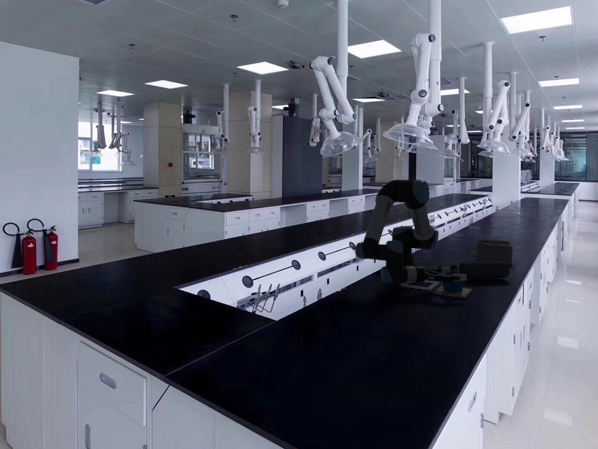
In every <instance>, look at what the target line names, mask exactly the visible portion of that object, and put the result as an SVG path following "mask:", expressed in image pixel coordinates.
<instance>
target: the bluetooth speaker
mask: <svg viewBox="0 0 598 449" xmlns="http://www.w3.org/2000/svg"><path fill="white" fill-rule="evenodd" d="M458 272H459V273H460V274H466V275H467V280H470V279H471V280H473V281H478V282H479V281H480V282H481V281H482V282H485V281H494V280H495V279H505V278H508V277H509V276H510V273H511V272H510V264H508V263H507V262H505V261H476V260H473V261H471V260H470V261H462V262H460V264H459V267H458Z"/></svg>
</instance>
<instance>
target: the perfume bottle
mask: <svg viewBox="0 0 598 449" xmlns="http://www.w3.org/2000/svg"><path fill="white" fill-rule="evenodd" d="M449 267H450V272H447V273H445V274H446V275H456V274H460V273H459V271H458V270H459V267H458V264H449ZM457 271H458V272H457ZM449 279H450V278H449ZM442 285H443V290H445V291H448V292H451V293H457V292H462V291H463V288H464V281H453V282H452V283H451V282H443V281H442Z"/></svg>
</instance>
